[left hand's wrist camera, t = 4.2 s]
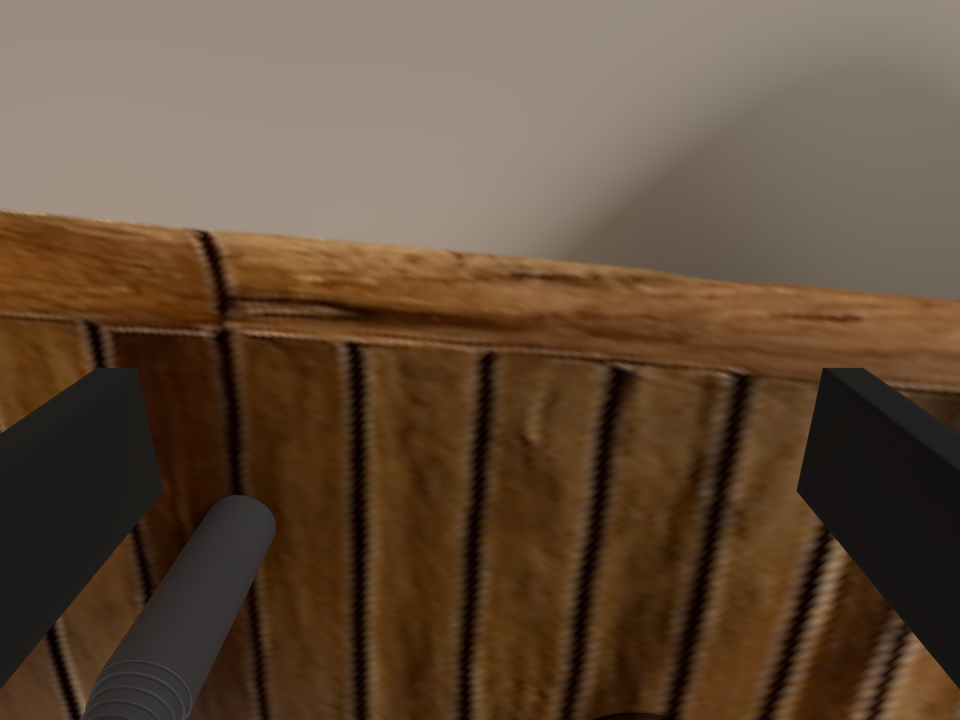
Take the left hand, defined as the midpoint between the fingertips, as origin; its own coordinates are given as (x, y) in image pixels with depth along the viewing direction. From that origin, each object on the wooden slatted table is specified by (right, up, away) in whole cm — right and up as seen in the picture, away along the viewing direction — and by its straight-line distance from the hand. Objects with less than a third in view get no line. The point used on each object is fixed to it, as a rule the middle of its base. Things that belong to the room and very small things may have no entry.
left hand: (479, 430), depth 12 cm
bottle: (-18, -11, +34) cm, 40 cm away
